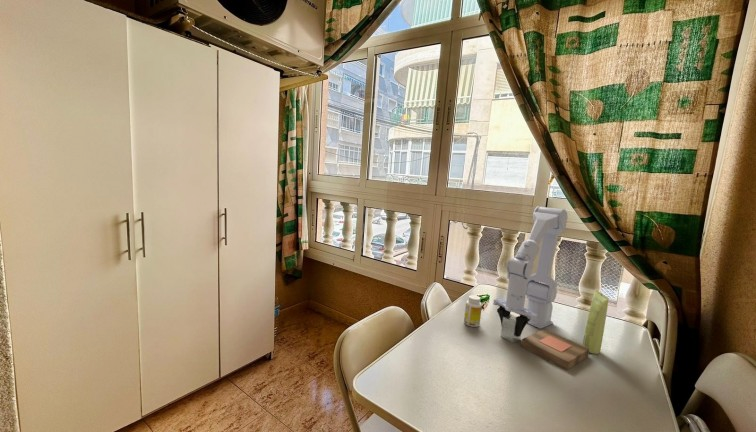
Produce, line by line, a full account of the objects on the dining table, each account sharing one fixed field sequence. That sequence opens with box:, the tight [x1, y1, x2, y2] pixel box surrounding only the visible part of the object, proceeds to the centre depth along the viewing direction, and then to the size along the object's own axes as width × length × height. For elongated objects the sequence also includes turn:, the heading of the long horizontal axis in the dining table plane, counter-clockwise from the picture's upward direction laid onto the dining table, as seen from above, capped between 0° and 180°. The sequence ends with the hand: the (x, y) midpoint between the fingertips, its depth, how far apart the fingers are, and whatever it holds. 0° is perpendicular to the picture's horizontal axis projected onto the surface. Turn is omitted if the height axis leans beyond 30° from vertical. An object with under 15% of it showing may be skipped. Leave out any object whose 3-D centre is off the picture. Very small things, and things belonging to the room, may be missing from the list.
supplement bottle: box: [463, 294, 483, 328], centre depth 113 cm, size 6×6×10 cm
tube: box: [581, 288, 610, 355], centre depth 100 cm, size 6×5×20 cm
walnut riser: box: [520, 328, 590, 371], centre depth 99 cm, size 14×14×3 cm
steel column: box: [500, 313, 522, 343], centre depth 106 cm, size 4×4×7 cm
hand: (511, 332), depth 106 cm, fingers closed on steel column, 4 cm apart
